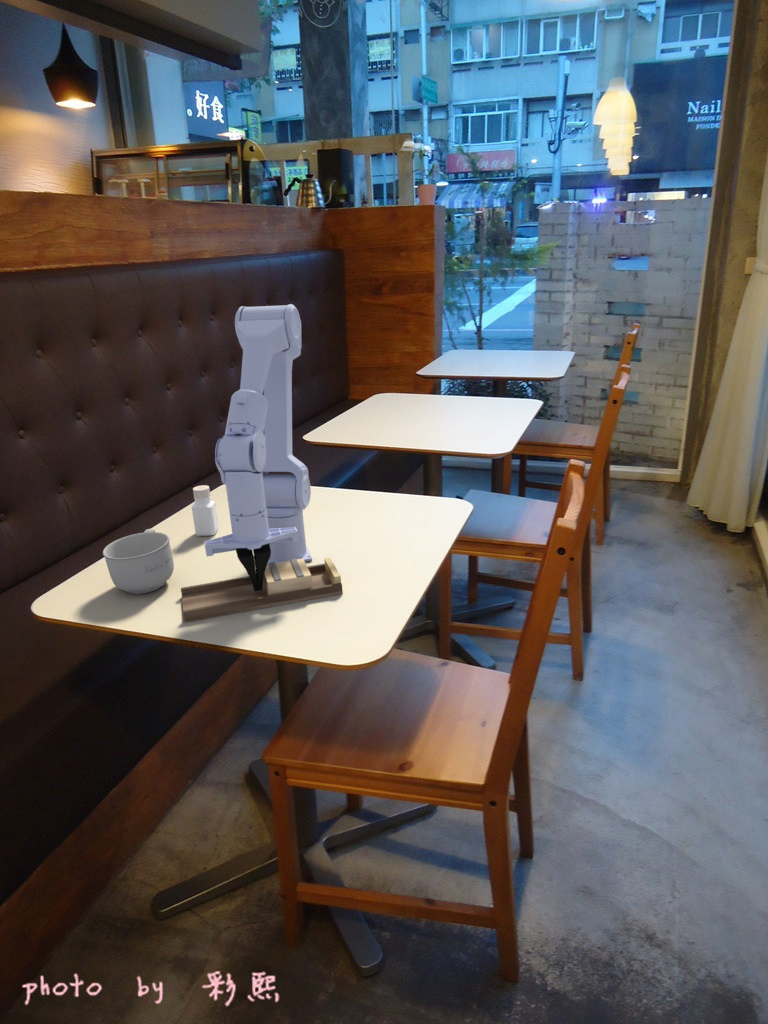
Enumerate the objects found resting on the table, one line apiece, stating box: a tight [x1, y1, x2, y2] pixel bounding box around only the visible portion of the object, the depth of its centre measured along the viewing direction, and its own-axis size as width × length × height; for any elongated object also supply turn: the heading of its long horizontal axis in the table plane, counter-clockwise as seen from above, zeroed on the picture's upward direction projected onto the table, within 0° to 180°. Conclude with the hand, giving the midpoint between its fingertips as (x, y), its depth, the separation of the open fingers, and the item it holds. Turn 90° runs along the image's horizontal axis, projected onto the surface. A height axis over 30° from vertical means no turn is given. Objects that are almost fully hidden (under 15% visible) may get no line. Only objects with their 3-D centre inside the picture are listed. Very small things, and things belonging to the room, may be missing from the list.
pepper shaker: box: [191, 484, 220, 537], centre depth 148 cm, size 4×4×10 cm
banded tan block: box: [263, 558, 312, 595], centre depth 122 cm, size 7×7×3 cm
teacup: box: [102, 528, 175, 595], centre depth 128 cm, size 14×11×8 cm
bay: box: [180, 557, 344, 623], centre depth 122 cm, size 9×25×3 cm, turn 106°
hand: (257, 588), depth 121 cm, fingers closed
